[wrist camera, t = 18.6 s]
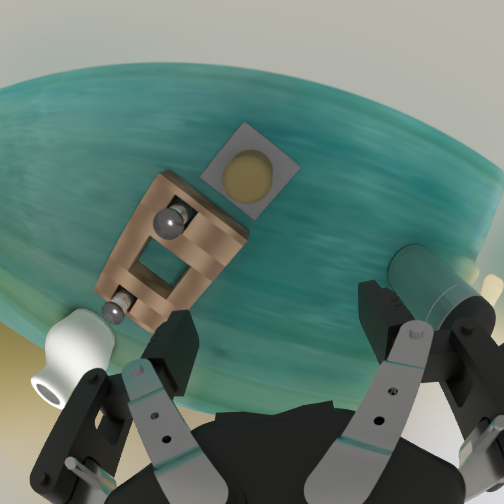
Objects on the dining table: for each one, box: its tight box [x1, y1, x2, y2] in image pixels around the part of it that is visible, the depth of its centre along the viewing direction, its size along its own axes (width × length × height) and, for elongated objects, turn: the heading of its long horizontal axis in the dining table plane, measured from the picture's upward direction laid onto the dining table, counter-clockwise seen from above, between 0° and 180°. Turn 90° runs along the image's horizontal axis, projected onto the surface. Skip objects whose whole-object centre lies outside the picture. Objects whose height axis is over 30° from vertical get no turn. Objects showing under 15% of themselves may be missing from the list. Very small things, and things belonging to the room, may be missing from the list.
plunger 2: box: [102, 287, 136, 325], centre depth 41 cm, size 4×4×8 cm
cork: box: [222, 150, 273, 204], centre depth 32 cm, size 6×6×11 cm
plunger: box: [153, 199, 195, 240], centre depth 35 cm, size 4×4×8 cm
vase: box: [31, 308, 115, 409], centre depth 41 cm, size 14×14×20 cm
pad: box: [200, 122, 301, 220], centre depth 37 cm, size 10×10×1 cm
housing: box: [94, 170, 249, 334], centre depth 41 cm, size 15×24×4 cm, turn 141°
